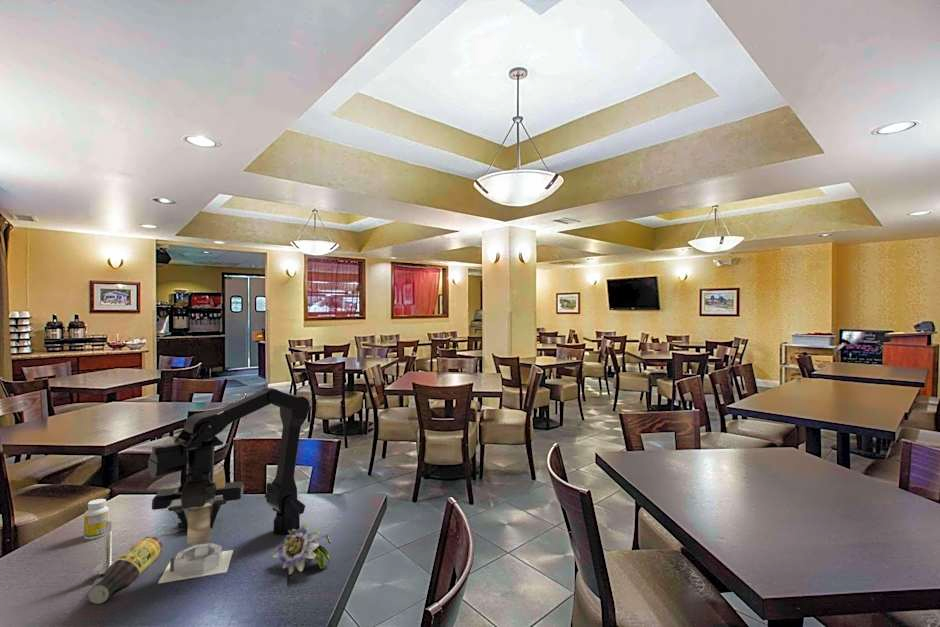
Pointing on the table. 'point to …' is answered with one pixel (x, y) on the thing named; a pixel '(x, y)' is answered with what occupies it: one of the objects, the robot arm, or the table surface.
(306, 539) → the passion flower
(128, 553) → the sauce bottle
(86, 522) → the supplement bottle
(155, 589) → the table surface
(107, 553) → the graduated cylinder
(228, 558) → the base plate
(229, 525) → the table surface
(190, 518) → the maple peg
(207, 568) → the white faceted ring
